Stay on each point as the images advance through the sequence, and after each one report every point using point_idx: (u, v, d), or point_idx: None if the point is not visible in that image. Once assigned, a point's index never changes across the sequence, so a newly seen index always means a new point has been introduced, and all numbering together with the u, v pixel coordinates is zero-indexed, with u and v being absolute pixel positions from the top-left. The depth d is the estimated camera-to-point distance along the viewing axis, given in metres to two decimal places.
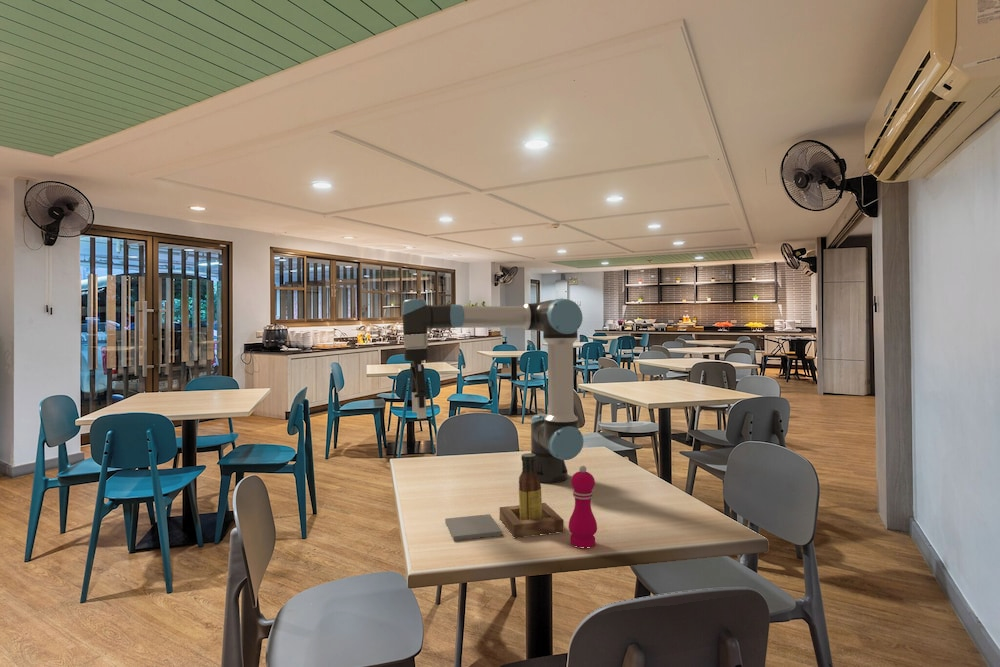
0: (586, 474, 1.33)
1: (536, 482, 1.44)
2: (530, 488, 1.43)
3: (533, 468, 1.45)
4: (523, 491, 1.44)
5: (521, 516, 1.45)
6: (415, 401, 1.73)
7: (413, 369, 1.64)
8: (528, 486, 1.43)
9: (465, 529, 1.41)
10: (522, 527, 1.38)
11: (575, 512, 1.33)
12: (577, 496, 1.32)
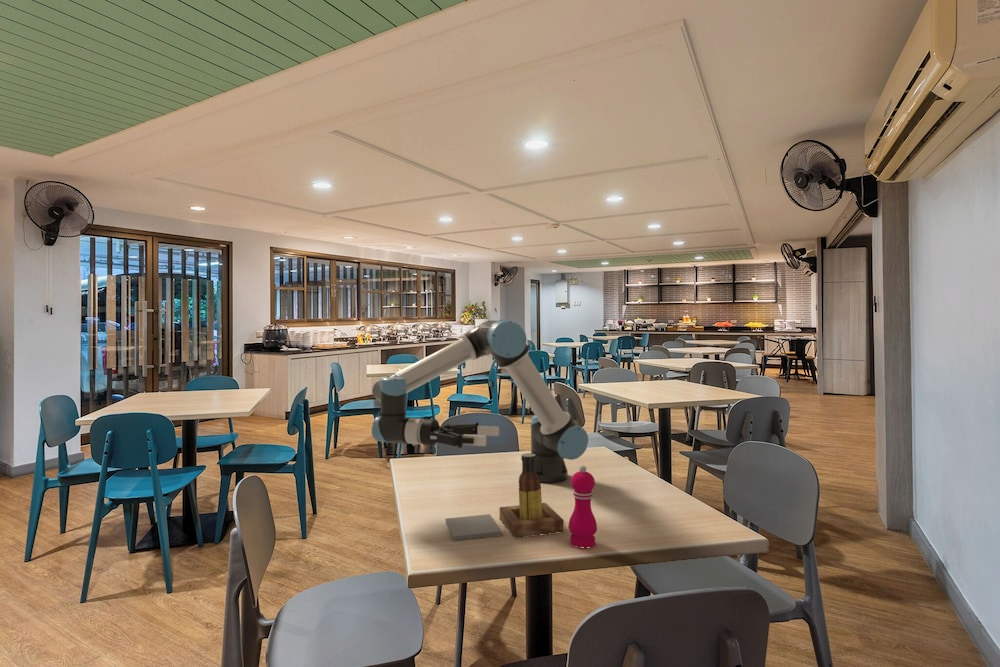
0: (586, 474, 1.33)
1: (536, 482, 1.44)
2: (530, 488, 1.43)
3: (533, 468, 1.45)
4: (523, 491, 1.44)
5: (521, 516, 1.45)
6: (486, 432, 1.57)
7: None
8: (528, 486, 1.43)
9: (465, 529, 1.41)
10: (522, 527, 1.38)
11: (575, 512, 1.33)
12: (577, 496, 1.32)
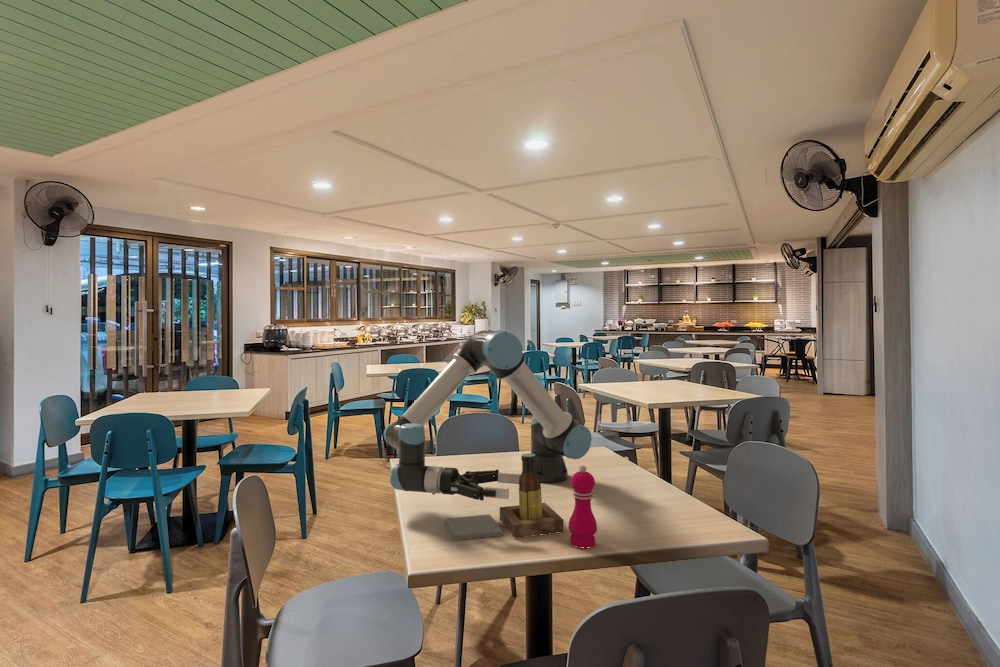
0: (586, 474, 1.33)
1: (536, 482, 1.44)
2: (530, 488, 1.43)
3: (533, 468, 1.45)
4: (523, 491, 1.44)
5: (521, 516, 1.45)
6: (507, 479, 1.54)
7: None
8: (528, 486, 1.43)
9: (465, 529, 1.41)
10: (522, 527, 1.38)
11: (575, 512, 1.33)
12: (577, 496, 1.32)
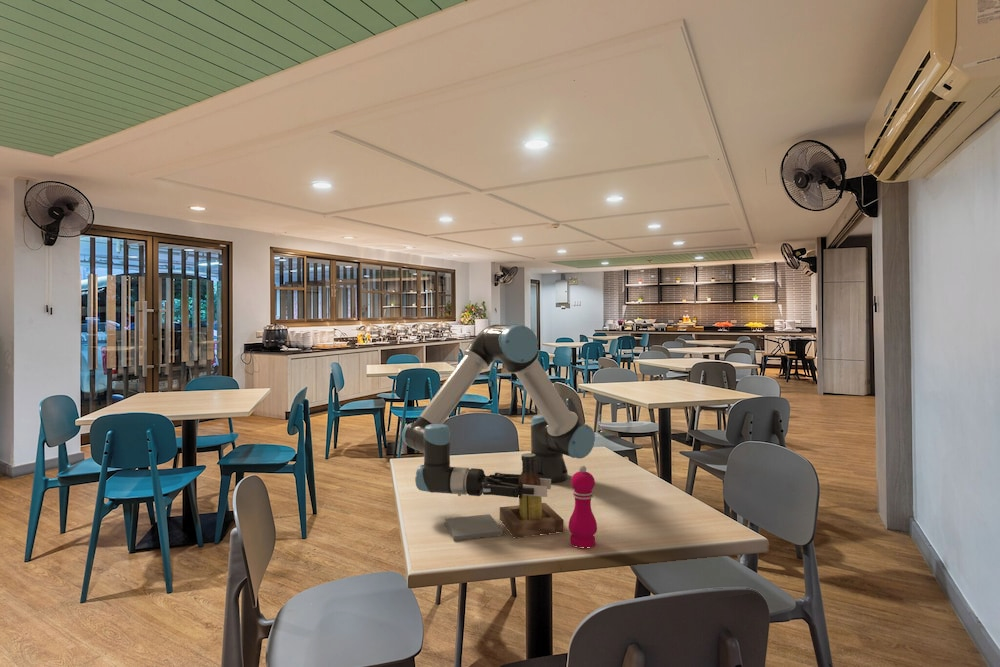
0: (586, 474, 1.33)
1: (536, 482, 1.44)
2: None
3: (533, 468, 1.45)
4: None
5: (521, 516, 1.45)
6: None
7: None
8: None
9: (465, 529, 1.41)
10: (522, 527, 1.38)
11: (575, 512, 1.33)
12: (577, 496, 1.32)
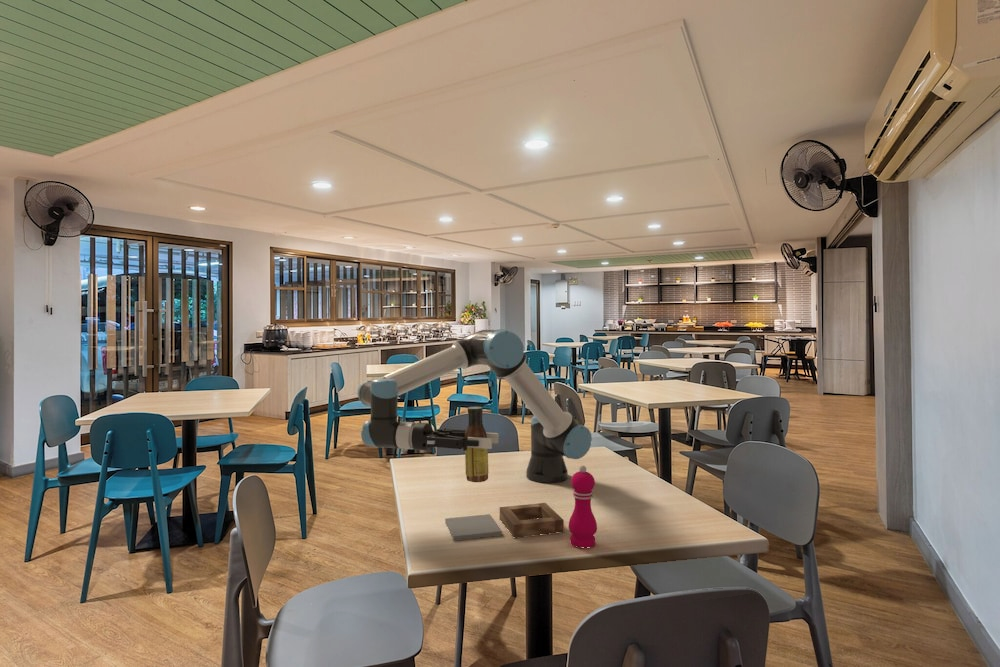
0: (586, 474, 1.33)
1: (482, 434, 1.41)
2: None
3: (479, 421, 1.42)
4: None
5: (466, 469, 1.42)
6: None
7: None
8: None
9: (465, 529, 1.41)
10: (522, 527, 1.38)
11: (575, 512, 1.33)
12: (577, 496, 1.32)
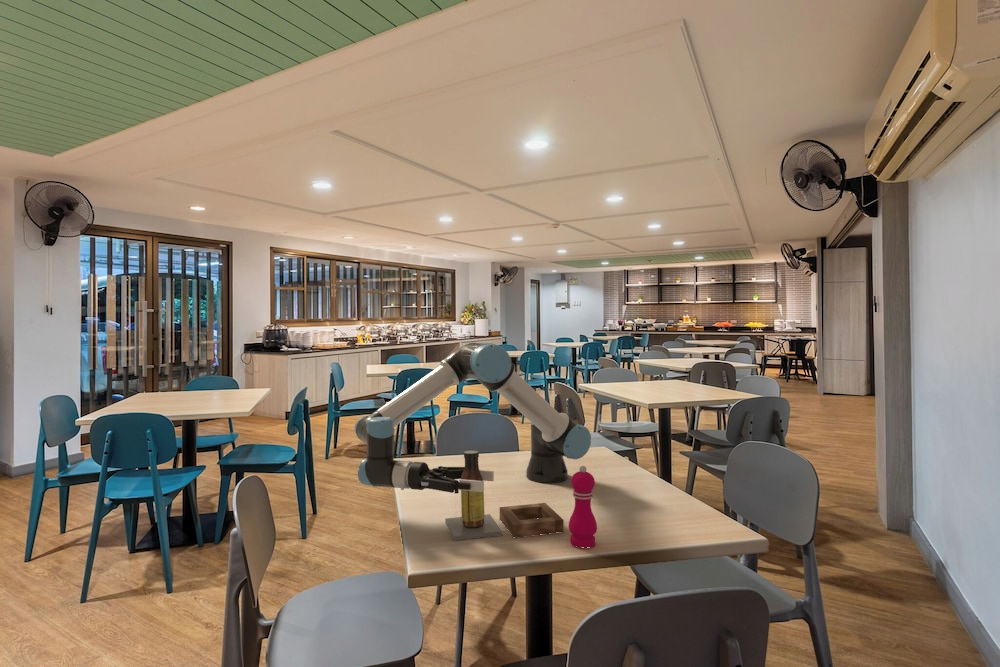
0: (586, 474, 1.33)
1: (478, 479, 1.42)
2: None
3: (475, 465, 1.43)
4: None
5: (462, 514, 1.42)
6: None
7: None
8: None
9: (465, 529, 1.41)
10: (522, 527, 1.38)
11: (575, 512, 1.33)
12: (577, 496, 1.32)
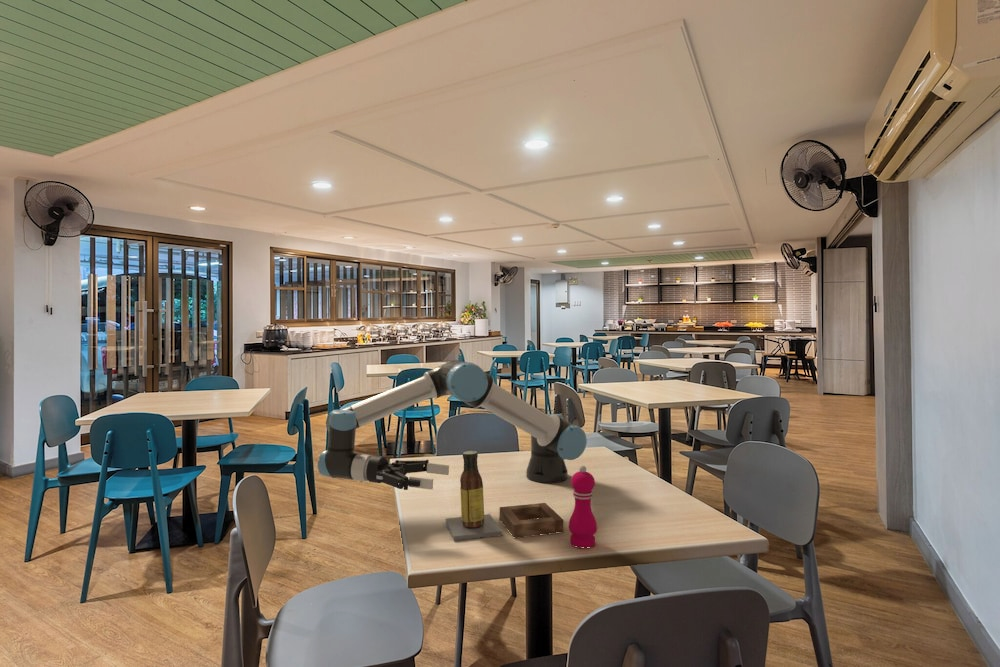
0: (586, 474, 1.33)
1: (477, 480, 1.42)
2: (470, 486, 1.41)
3: (475, 466, 1.42)
4: (464, 490, 1.41)
5: (462, 515, 1.42)
6: (436, 470, 1.54)
7: None
8: (469, 484, 1.41)
9: (465, 529, 1.41)
10: (522, 527, 1.38)
11: (575, 512, 1.33)
12: (577, 496, 1.32)
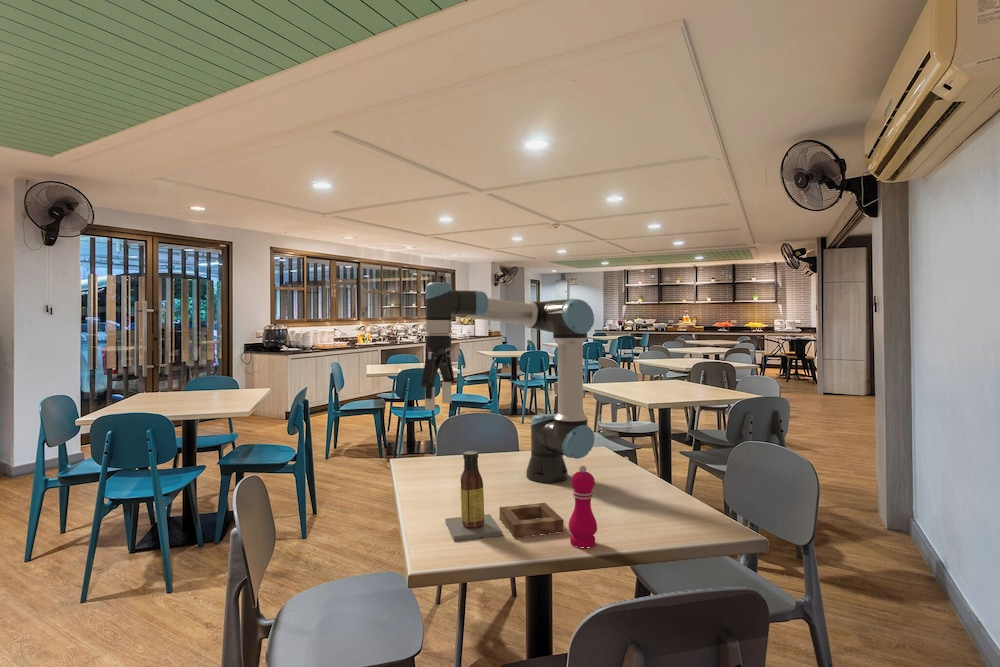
0: (586, 474, 1.33)
1: (478, 480, 1.41)
2: (471, 486, 1.41)
3: (475, 466, 1.42)
4: (464, 490, 1.41)
5: (462, 515, 1.42)
6: (445, 391, 1.62)
7: None
8: (469, 484, 1.41)
9: (465, 529, 1.41)
10: (522, 527, 1.38)
11: (575, 512, 1.33)
12: (577, 496, 1.32)
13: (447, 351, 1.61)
